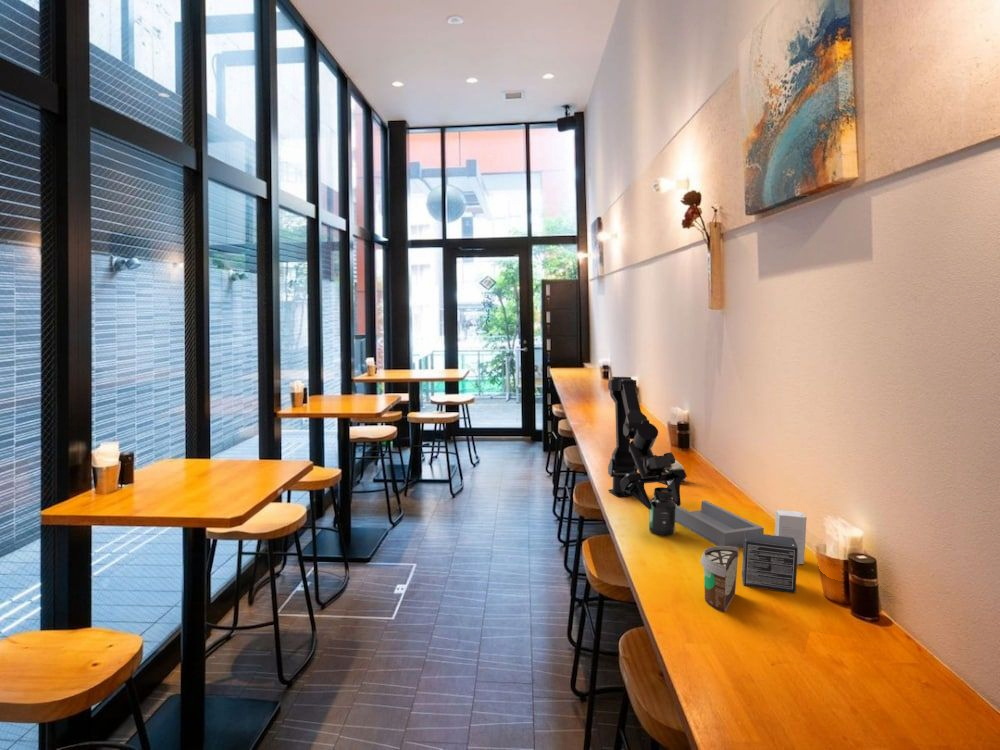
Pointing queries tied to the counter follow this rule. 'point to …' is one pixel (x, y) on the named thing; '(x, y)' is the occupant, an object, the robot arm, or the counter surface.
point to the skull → (673, 466)
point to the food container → (720, 575)
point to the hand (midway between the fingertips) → (665, 507)
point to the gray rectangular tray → (716, 524)
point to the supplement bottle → (662, 512)
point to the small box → (769, 562)
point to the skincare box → (792, 529)
